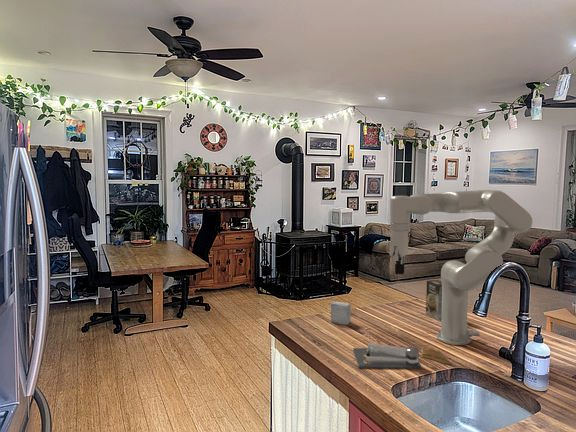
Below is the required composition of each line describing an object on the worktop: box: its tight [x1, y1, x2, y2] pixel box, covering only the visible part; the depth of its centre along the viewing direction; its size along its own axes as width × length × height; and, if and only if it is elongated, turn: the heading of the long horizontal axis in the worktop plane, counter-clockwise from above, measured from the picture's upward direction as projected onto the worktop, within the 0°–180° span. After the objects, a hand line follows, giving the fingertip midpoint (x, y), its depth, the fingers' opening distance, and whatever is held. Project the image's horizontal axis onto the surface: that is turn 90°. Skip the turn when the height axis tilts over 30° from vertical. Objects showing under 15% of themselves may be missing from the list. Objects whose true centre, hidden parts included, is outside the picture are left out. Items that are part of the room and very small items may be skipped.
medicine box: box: [330, 301, 352, 326], centre depth 181 cm, size 8×4×9 cm, turn 58°
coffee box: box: [425, 279, 442, 321], centre depth 189 cm, size 9×6×16 cm
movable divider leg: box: [366, 342, 420, 359], centre depth 142 cm, size 18×4×4 cm, turn 69°
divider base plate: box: [352, 347, 422, 369], centre depth 144 cm, size 21×14×3 cm, turn 89°
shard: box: [420, 348, 451, 365], centre depth 145 cm, size 11×8×2 cm
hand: (399, 273), depth 160 cm, fingers closed
